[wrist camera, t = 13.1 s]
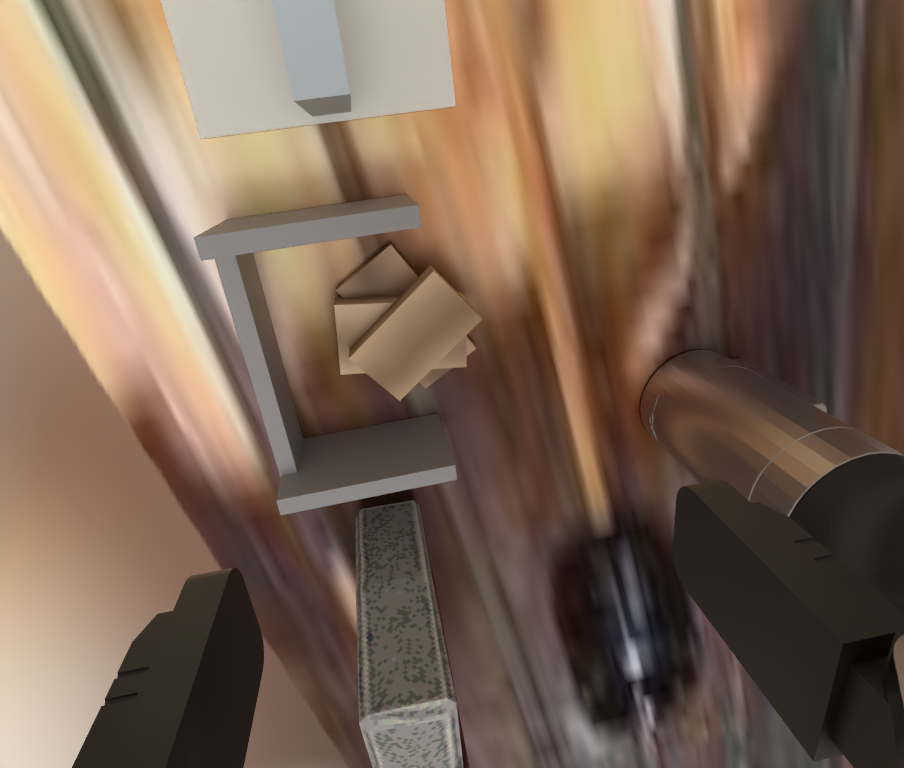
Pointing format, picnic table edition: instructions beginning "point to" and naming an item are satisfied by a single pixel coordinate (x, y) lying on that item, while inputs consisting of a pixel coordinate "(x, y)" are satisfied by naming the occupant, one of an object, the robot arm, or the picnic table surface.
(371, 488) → the rack
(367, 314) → the offcut
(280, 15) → the grey flat slab
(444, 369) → the offcut
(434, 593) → the decorative stone tablet
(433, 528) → the picnic table surface
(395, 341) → the offcut
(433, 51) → the mat
